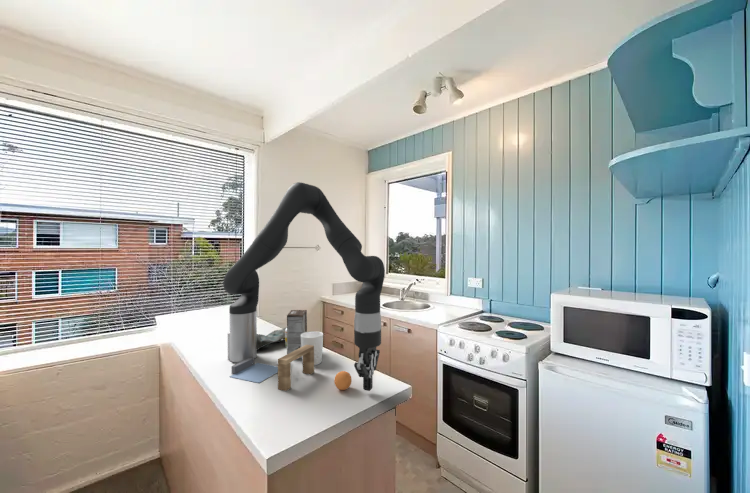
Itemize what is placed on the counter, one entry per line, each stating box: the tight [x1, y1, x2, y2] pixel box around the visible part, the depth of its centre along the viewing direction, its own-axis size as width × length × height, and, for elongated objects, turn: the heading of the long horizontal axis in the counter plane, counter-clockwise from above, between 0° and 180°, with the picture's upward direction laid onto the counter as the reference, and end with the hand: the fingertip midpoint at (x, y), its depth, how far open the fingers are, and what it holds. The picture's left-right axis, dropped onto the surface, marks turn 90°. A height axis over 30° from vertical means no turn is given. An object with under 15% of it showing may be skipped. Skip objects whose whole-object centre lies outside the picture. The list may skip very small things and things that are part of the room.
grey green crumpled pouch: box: [257, 326, 287, 351], centre depth 129 cm, size 13×7×25 cm
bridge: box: [277, 345, 315, 392], centre depth 93 cm, size 3×14×9 cm, turn 158°
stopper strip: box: [231, 358, 255, 375], centre depth 102 cm, size 2×8×2 cm, turn 158°
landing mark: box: [229, 362, 278, 384], centre depth 99 cm, size 12×12×1 cm
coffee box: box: [286, 309, 308, 359], centre depth 116 cm, size 9×6×16 cm
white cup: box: [301, 330, 324, 366], centre depth 108 cm, size 8×8×10 cm
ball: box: [333, 370, 353, 391], centre depth 87 cm, size 5×5×5 cm
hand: (367, 389), depth 84 cm, fingers closed
